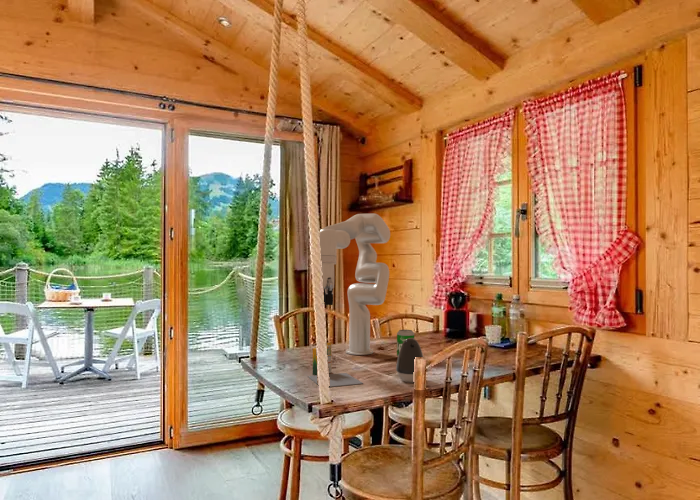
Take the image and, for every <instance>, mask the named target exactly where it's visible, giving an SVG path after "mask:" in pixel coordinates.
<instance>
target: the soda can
mask: <svg viewBox="0 0 700 500" xmlns="http://www.w3.org/2000/svg"><path fill="white" fill-rule="evenodd" d="M408 338H413V339H415V332H414V331H413V329H412V330H411V329H399V330H398V331H397V332H396V356H397V357H398V355H399V351H400V348H401V346H402V344H403V342H404V341H405V340H406V339H408Z"/></svg>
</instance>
